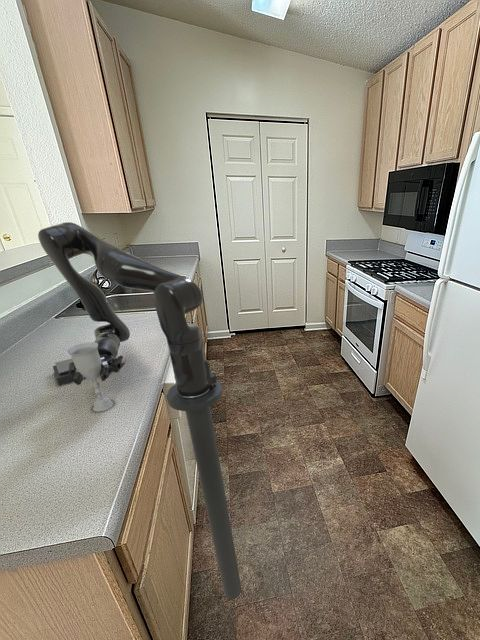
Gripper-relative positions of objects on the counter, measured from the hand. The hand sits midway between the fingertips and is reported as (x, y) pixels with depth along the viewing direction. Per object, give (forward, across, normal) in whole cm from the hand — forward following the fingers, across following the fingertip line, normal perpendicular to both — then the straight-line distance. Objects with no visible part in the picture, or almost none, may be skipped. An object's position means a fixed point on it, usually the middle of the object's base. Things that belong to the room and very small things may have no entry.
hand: (90, 379), depth 86 cm
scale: (-27, -11, +10) cm, 31 cm away
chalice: (-3, 0, +10) cm, 11 cm away
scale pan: (-28, -12, +7) cm, 31 cm away
